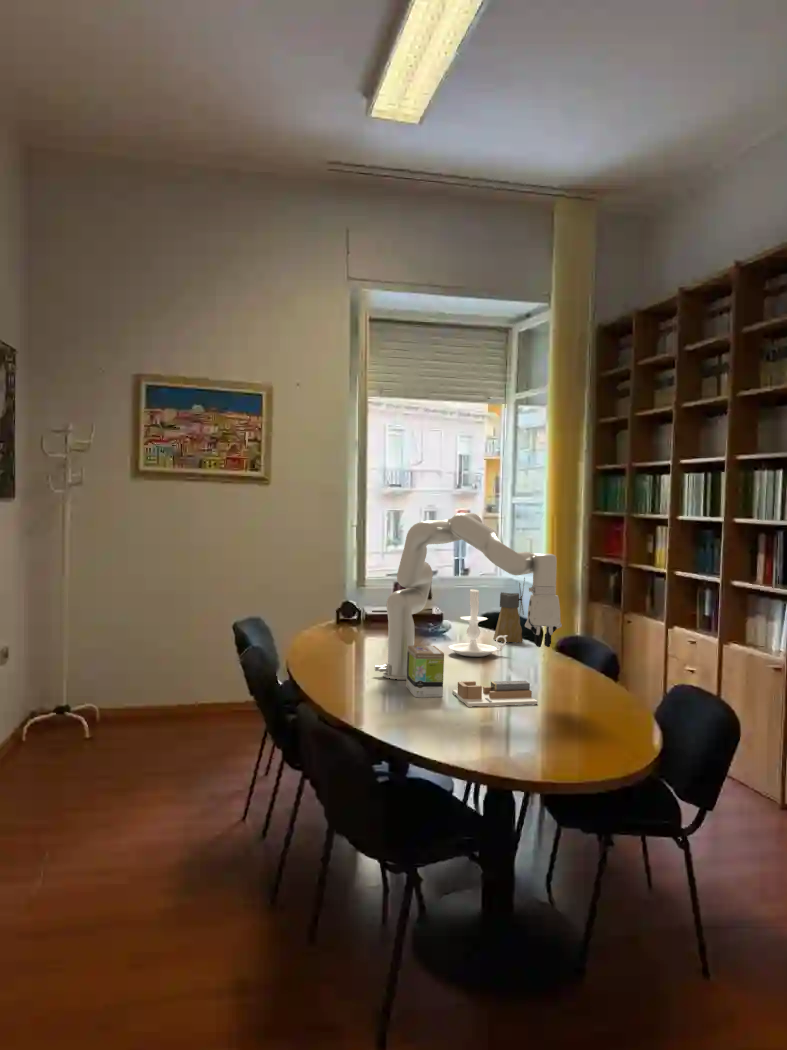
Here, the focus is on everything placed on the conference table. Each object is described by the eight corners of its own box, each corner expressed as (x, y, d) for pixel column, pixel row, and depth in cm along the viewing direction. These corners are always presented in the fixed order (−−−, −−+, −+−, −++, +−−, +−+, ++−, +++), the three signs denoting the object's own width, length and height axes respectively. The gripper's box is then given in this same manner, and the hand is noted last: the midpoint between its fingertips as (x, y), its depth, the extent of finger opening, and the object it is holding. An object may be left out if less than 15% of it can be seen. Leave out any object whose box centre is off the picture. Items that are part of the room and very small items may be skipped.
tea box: (443, 697, 266) (444, 652, 265) (413, 698, 264) (414, 653, 264) (434, 686, 281) (435, 644, 280) (405, 687, 279) (406, 644, 279)
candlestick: (511, 660, 329) (513, 592, 328) (451, 659, 328) (452, 591, 327) (502, 650, 350) (504, 586, 349) (445, 650, 349) (447, 585, 348)
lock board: (468, 707, 254) (468, 690, 254) (452, 693, 271) (452, 677, 271) (537, 704, 258) (537, 688, 258) (517, 691, 276) (517, 676, 276)
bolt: (494, 696, 263) (494, 684, 263) (490, 693, 267) (490, 681, 267) (529, 695, 265) (529, 683, 265) (524, 692, 269) (525, 680, 269)
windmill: (520, 645, 364) (522, 579, 363) (489, 643, 368) (491, 577, 367) (526, 637, 384) (528, 575, 383) (496, 635, 388) (498, 573, 387)
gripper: (525, 592, 262) (523, 649, 262) (571, 592, 265) (570, 648, 266) (517, 589, 269) (515, 644, 270) (562, 589, 272) (560, 644, 273)
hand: (542, 645), depth 268 cm, fingers open, 2 cm apart
